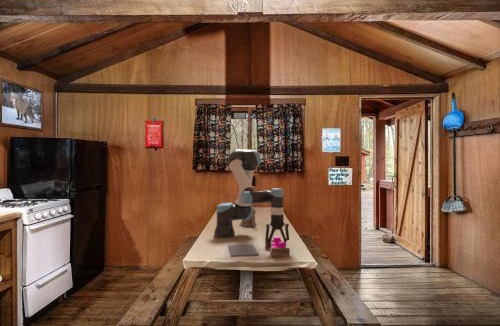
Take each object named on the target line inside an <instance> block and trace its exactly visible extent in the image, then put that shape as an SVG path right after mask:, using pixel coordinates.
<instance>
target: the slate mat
mask: <svg viewBox="0 0 500 326" xmlns="http://www.w3.org/2000/svg"><path fill="white" fill-rule="evenodd" d="M227 247H228V251H229V255H230V256H231V258H232V257H252V256H253V257H255V256H256V257H257V256H260V254H259V252H258V251H257V249H256V248H255V245H254V244H229V245H227Z"/></svg>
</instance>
